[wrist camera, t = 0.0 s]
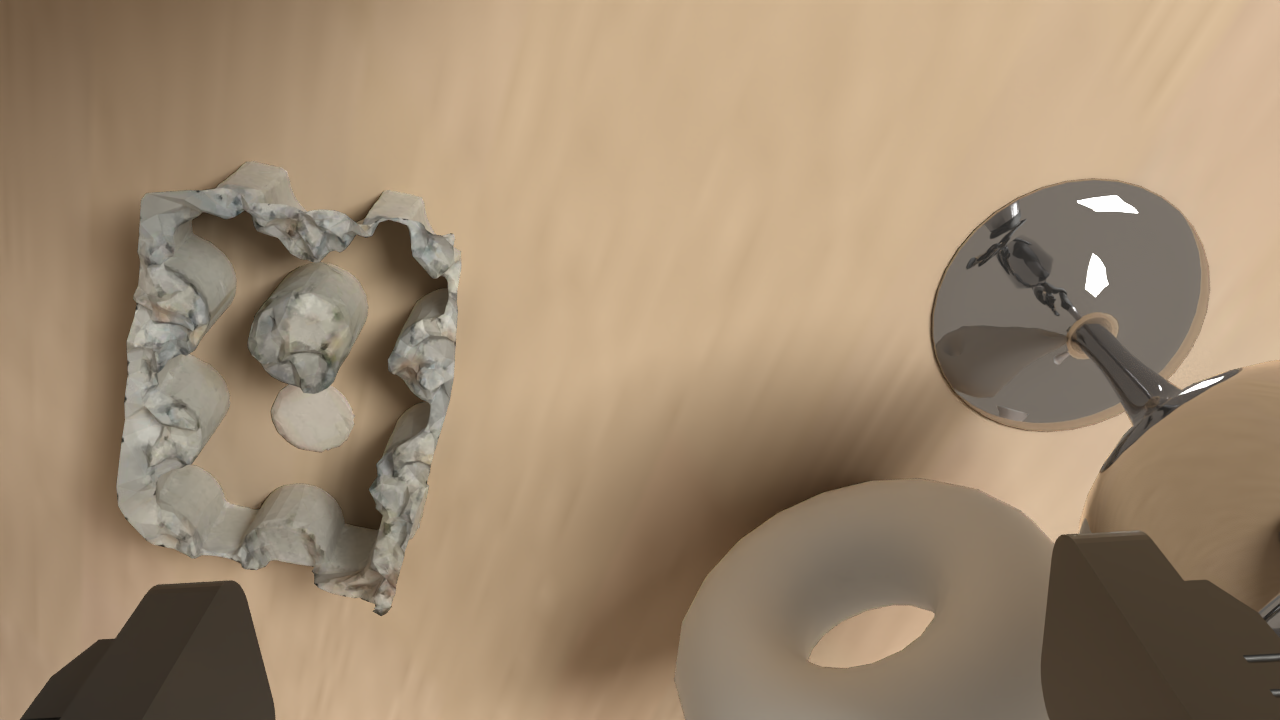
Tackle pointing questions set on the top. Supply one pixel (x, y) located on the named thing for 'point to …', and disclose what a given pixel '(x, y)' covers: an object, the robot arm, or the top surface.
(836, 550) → the donut
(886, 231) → the top surface
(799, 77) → the top surface
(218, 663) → the robot arm
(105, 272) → the top surface
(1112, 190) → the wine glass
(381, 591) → the egg carton
